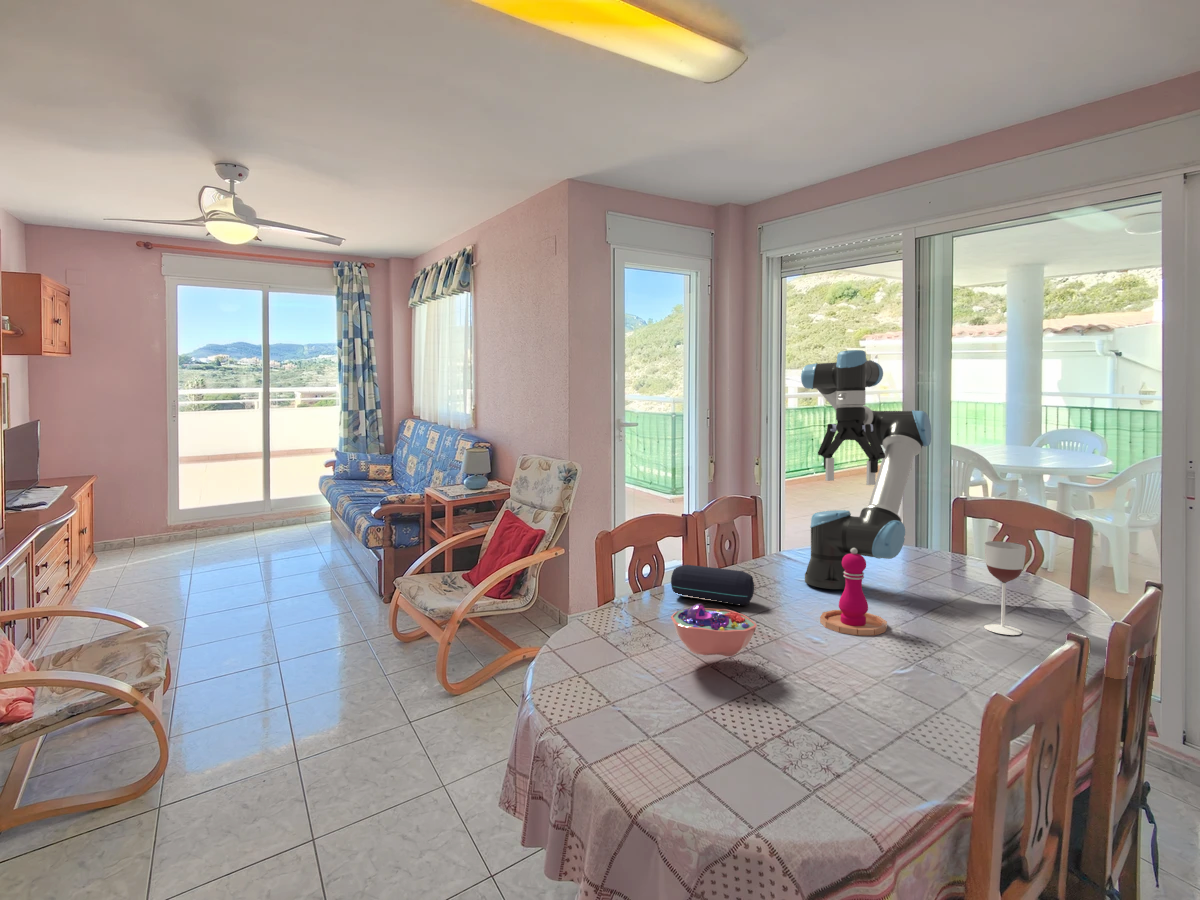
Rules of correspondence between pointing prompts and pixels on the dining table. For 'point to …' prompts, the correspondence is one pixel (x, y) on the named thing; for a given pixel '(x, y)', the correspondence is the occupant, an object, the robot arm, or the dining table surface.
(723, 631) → the cell model
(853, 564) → the pepper mill
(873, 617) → the terracotta saucer
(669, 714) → the dining table surface
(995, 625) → the wineglass
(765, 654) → the dining table surface
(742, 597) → the portable speaker
